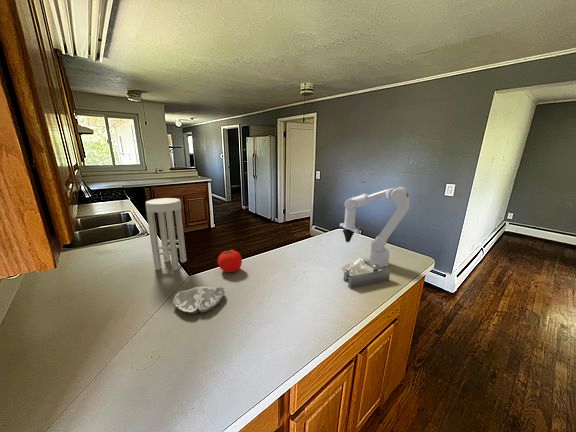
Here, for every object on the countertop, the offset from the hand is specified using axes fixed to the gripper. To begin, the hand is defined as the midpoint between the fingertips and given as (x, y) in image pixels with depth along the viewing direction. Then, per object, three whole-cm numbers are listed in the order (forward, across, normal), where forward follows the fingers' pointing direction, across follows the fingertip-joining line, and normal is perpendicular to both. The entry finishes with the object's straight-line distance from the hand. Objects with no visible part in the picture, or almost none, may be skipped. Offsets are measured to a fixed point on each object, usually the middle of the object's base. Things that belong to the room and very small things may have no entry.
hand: (347, 241), depth 139 cm
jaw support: (+10, -20, +9) cm, 24 cm away
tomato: (+10, +11, +66) cm, 68 cm away
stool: (+10, +30, +93) cm, 99 cm away
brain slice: (+10, -11, +84) cm, 85 cm away
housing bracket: (+9, -25, +9) cm, 28 cm away
